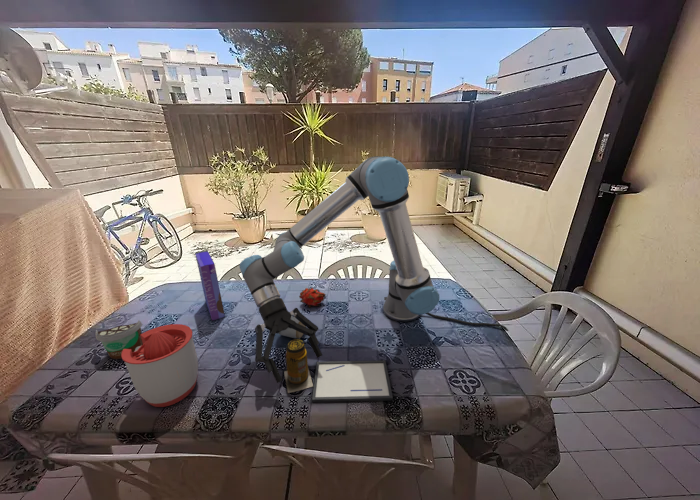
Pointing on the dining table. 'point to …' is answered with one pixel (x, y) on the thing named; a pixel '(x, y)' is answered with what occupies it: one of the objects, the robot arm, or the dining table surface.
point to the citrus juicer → (163, 365)
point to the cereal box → (210, 284)
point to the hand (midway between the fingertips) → (300, 368)
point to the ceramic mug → (292, 330)
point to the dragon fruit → (312, 297)
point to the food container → (120, 339)
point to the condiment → (297, 367)
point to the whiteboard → (351, 381)
